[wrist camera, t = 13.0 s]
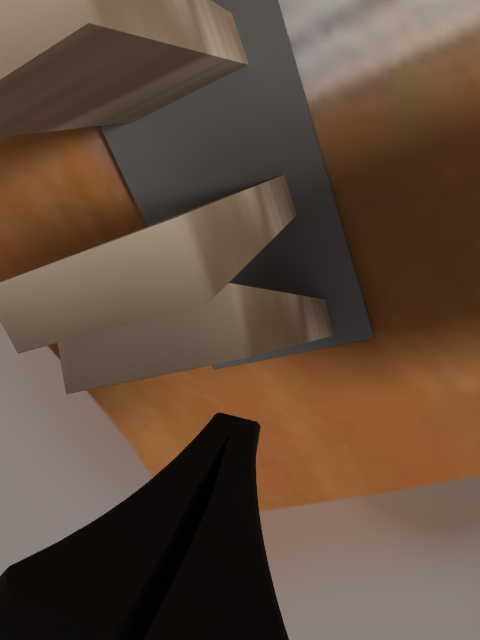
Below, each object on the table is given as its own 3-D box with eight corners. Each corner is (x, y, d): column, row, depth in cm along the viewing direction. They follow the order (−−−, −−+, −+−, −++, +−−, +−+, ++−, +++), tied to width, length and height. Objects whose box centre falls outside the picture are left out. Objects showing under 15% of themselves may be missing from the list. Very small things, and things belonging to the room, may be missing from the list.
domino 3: (222, 323, 20) (55, 332, 11) (325, 299, 18) (229, 283, 9) (229, 356, 20) (66, 394, 10) (333, 335, 18) (245, 358, 9)
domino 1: (115, 78, 16) (-172, 59, 7) (231, 13, 14) (28, -114, 5) (134, 121, 16) (-111, 151, 8) (248, 64, 15) (87, 22, 6)
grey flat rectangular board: (85, -671, 9) (74, -701, 9) (373, 334, 19) (373, 338, 18) (-122, -364, 12) (-136, -376, 12) (216, 365, 22) (214, 369, 21)
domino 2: (175, 215, 18) (-18, 289, 9) (284, 174, 16) (175, 218, 7) (188, 250, 18) (18, 353, 9) (296, 215, 16) (208, 302, 8)
